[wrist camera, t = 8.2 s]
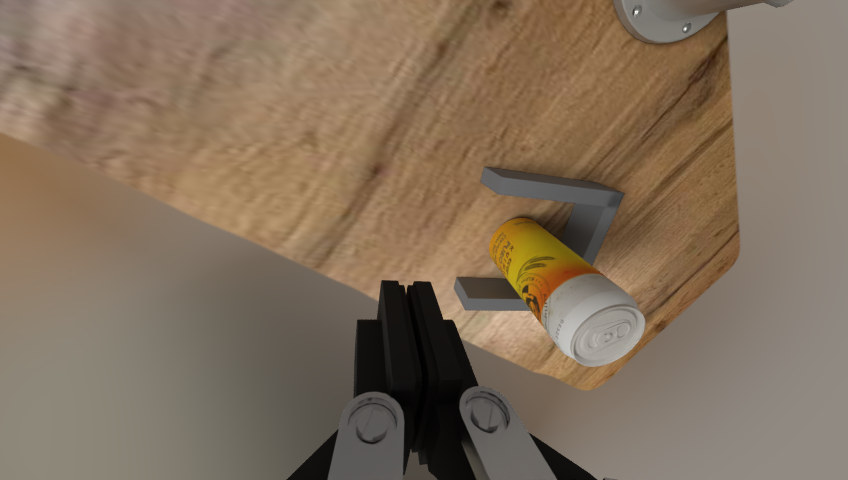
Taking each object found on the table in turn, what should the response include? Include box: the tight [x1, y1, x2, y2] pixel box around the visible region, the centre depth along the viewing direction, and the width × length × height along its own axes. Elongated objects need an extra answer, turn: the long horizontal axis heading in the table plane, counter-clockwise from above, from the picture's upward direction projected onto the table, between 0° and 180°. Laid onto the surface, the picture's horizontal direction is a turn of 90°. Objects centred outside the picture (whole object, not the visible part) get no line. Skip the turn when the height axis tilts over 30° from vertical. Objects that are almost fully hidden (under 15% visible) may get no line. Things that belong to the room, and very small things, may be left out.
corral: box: [454, 167, 625, 311], centre depth 32 cm, size 13×14×4 cm
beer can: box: [489, 218, 645, 367], centre depth 27 cm, size 6×6×15 cm
